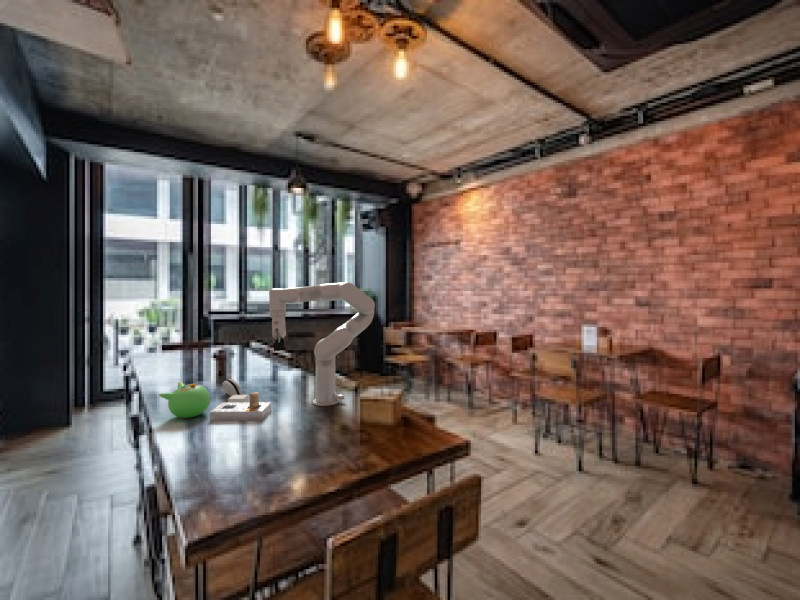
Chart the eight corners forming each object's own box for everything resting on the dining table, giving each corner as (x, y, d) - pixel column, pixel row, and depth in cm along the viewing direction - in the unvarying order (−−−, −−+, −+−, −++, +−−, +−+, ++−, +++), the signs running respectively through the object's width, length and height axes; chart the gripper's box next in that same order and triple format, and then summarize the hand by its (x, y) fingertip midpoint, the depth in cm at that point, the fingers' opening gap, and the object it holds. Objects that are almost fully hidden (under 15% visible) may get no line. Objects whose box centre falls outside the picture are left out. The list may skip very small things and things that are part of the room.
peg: (260, 414, 186) (260, 392, 186) (257, 417, 182) (257, 394, 182) (251, 414, 186) (251, 392, 186) (248, 417, 182) (248, 394, 182)
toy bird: (198, 423, 174) (197, 388, 174) (157, 423, 174) (157, 388, 174) (216, 410, 192) (216, 378, 192) (180, 410, 192) (179, 378, 192)
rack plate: (271, 410, 191) (271, 401, 191) (262, 420, 177) (262, 411, 177) (222, 411, 191) (222, 402, 191) (209, 421, 177) (209, 411, 177)
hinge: (246, 398, 213) (240, 380, 211) (238, 402, 210) (231, 385, 208) (235, 391, 226) (228, 375, 223) (227, 396, 223) (220, 379, 220)
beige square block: (248, 405, 200) (248, 394, 200) (243, 409, 194) (243, 398, 193) (233, 405, 200) (233, 394, 200) (228, 409, 193) (228, 398, 193)
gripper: (282, 314, 193) (283, 351, 193) (288, 312, 210) (290, 346, 211) (266, 315, 192) (267, 352, 193) (273, 313, 209) (274, 346, 210)
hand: (279, 349), depth 202 cm, fingers open, 9 cm apart
